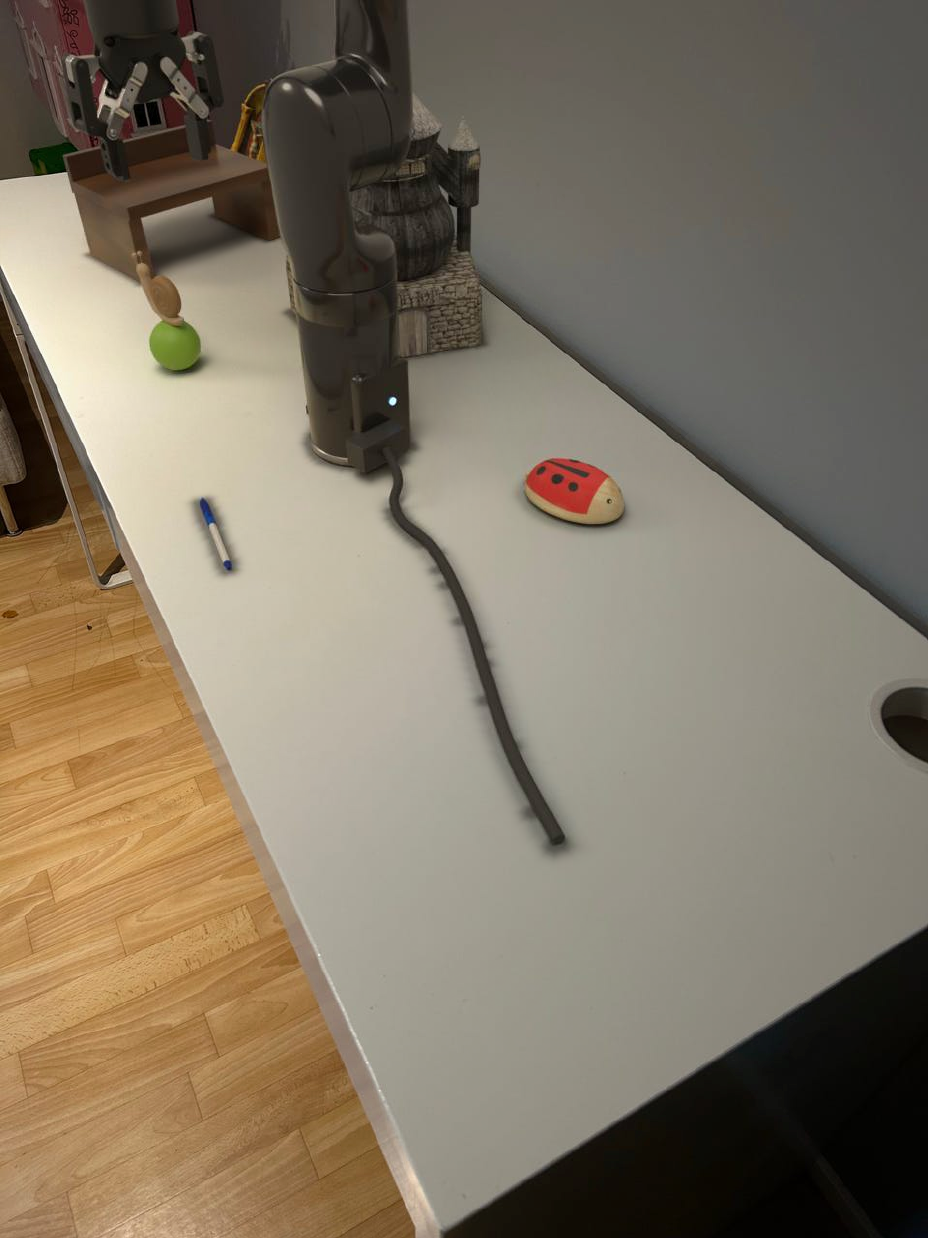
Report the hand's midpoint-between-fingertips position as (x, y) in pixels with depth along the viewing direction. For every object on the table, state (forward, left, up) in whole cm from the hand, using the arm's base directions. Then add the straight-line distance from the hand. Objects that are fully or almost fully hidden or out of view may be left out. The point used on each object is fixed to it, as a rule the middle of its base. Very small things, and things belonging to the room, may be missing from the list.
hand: (162, 169), depth 89 cm
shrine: (+43, -39, -22) cm, 62 cm away
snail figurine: (+3, +1, -22) cm, 22 cm away
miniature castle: (-7, -23, -21) cm, 32 cm away
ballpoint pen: (-25, +16, -22) cm, 37 cm away
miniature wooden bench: (+31, -19, -21) cm, 42 cm away
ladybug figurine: (-45, -10, -22) cm, 51 cm away
